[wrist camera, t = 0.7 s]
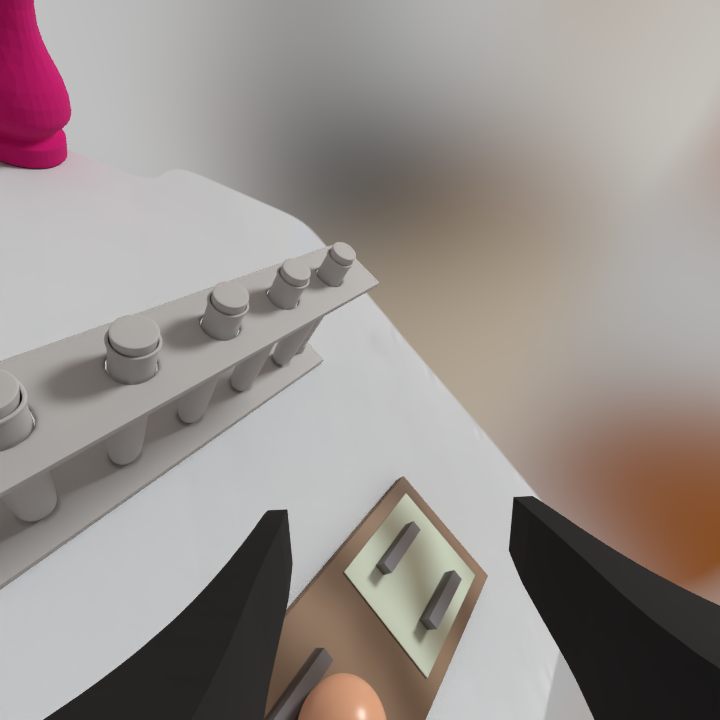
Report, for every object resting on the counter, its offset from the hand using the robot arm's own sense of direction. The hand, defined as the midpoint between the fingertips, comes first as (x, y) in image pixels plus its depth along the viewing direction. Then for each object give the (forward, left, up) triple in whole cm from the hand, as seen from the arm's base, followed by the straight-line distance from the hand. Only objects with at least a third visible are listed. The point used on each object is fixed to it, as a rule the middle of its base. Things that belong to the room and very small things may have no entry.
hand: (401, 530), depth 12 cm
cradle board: (-2, -8, -15) cm, 17 cm away
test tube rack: (+9, +7, -16) cm, 20 cm away
